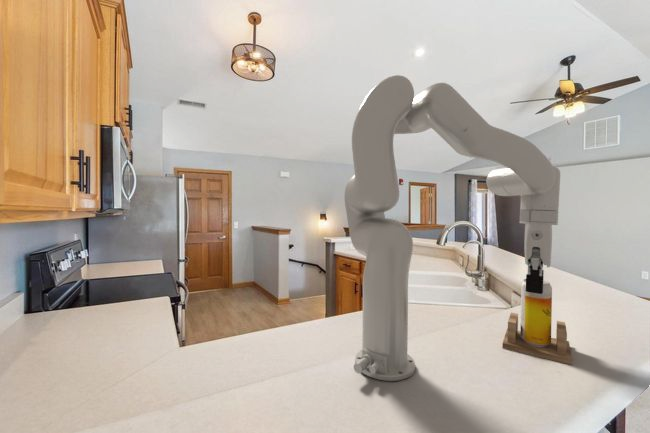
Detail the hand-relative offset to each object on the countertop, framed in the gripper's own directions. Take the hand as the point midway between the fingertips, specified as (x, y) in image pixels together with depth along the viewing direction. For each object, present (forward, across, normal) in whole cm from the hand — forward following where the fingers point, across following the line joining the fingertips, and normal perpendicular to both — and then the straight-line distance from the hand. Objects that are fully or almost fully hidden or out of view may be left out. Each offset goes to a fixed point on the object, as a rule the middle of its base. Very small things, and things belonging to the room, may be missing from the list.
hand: (534, 288), depth 72 cm
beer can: (+13, +1, -1) cm, 13 cm away
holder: (+14, +1, -1) cm, 14 cm away
